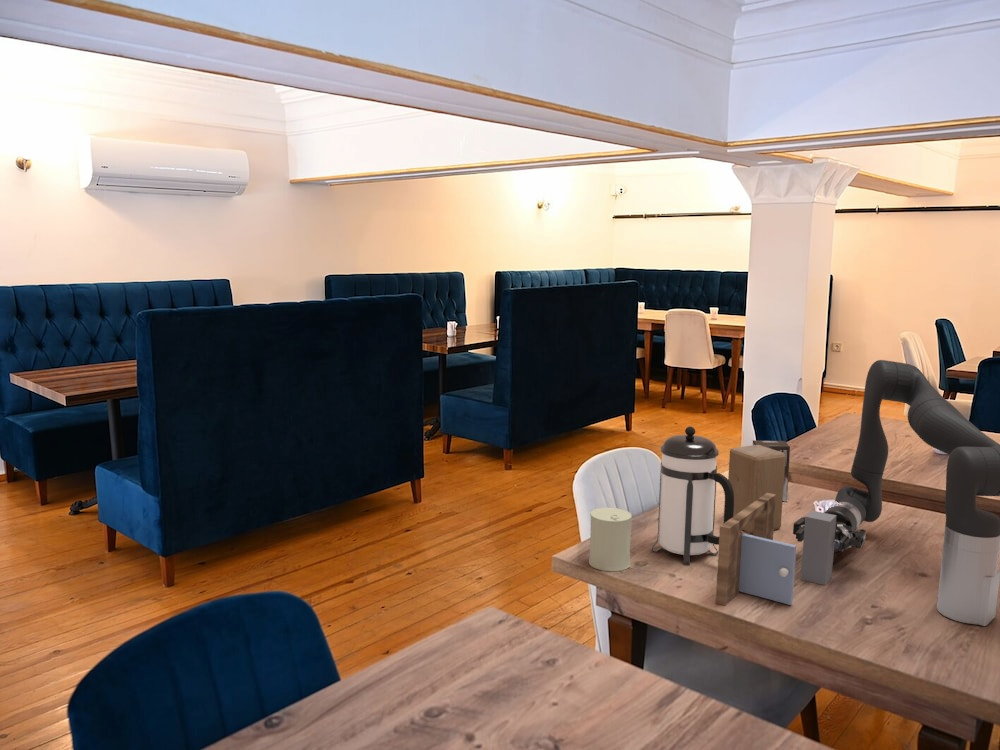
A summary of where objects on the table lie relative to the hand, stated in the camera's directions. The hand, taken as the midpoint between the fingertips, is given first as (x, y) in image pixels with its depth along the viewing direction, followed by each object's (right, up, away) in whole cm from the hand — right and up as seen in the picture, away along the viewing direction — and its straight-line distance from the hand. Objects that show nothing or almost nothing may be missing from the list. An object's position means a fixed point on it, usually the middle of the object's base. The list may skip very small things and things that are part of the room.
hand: (819, 541), depth 169 cm
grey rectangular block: (0, -8, +1) cm, 8 cm away
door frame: (-16, -8, -1) cm, 18 cm away
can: (-44, -7, +8) cm, 45 cm away
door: (-16, -9, -9) cm, 20 cm away
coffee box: (+8, +1, +55) cm, 56 cm away
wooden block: (-4, -3, +32) cm, 33 cm away
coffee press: (-24, -6, +14) cm, 29 cm away
